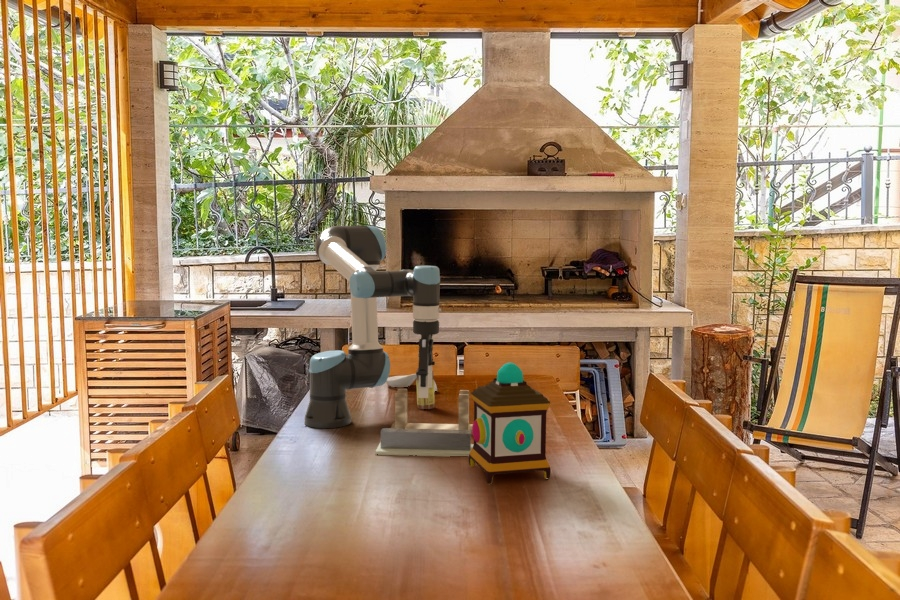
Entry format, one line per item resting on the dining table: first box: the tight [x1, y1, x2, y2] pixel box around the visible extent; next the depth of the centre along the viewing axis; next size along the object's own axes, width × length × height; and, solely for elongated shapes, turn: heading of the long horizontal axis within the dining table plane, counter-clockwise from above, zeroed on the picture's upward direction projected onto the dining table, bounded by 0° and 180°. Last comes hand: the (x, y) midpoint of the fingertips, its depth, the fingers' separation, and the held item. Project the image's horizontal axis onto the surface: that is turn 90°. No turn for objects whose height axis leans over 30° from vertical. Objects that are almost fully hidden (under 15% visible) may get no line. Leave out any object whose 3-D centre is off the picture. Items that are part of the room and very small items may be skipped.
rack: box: [390, 388, 473, 433], centre depth 270 cm, size 26×7×12 cm, turn 86°
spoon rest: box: [385, 373, 438, 393], centre depth 334 cm, size 24×12×7 cm, turn 52°
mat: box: [374, 441, 474, 457], centre depth 247 cm, size 28×10×1 cm, turn 86°
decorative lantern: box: [468, 361, 551, 486], centre depth 225 cm, size 20×20×30 cm
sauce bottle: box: [415, 353, 436, 410], centre depth 300 cm, size 7×6×20 cm
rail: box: [380, 427, 472, 451], centre depth 247 cm, size 26×4×5 cm, turn 86°
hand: (425, 392), depth 246 cm, fingers open, 13 cm apart
